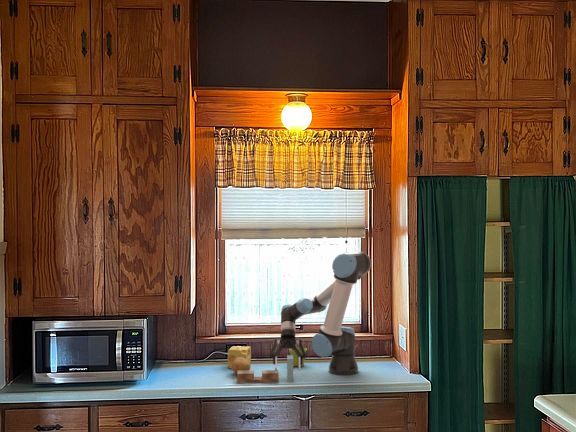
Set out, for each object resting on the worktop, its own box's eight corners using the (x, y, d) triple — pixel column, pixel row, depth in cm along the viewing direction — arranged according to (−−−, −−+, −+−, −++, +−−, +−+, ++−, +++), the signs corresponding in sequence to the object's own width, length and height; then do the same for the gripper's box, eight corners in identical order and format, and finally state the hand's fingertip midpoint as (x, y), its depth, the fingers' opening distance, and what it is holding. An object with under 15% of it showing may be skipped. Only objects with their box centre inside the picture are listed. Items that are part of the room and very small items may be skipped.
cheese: (246, 369, 346) (246, 350, 346) (226, 368, 348) (226, 349, 348) (251, 364, 356) (251, 346, 356) (232, 363, 358) (232, 345, 358)
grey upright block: (287, 377, 329) (287, 355, 329) (292, 377, 329) (292, 355, 329) (287, 381, 321) (287, 358, 321) (293, 381, 321) (293, 358, 321)
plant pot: (286, 364, 356) (286, 348, 356) (302, 362, 360) (302, 346, 360) (293, 368, 347) (293, 351, 347) (309, 366, 351) (309, 350, 351)
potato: (233, 378, 327) (233, 362, 327) (230, 371, 341) (230, 356, 341) (252, 377, 329) (252, 361, 329) (249, 370, 342) (249, 355, 342)
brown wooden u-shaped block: (278, 379, 324) (278, 370, 324) (278, 382, 318) (278, 373, 318) (237, 379, 324) (237, 370, 324) (237, 382, 318) (237, 373, 318)
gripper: (310, 336, 342) (311, 374, 327) (265, 335, 342) (264, 373, 327) (311, 328, 337) (311, 366, 322) (265, 327, 337) (263, 365, 321)
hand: (287, 369), depth 324 cm, fingers open, 11 cm apart
